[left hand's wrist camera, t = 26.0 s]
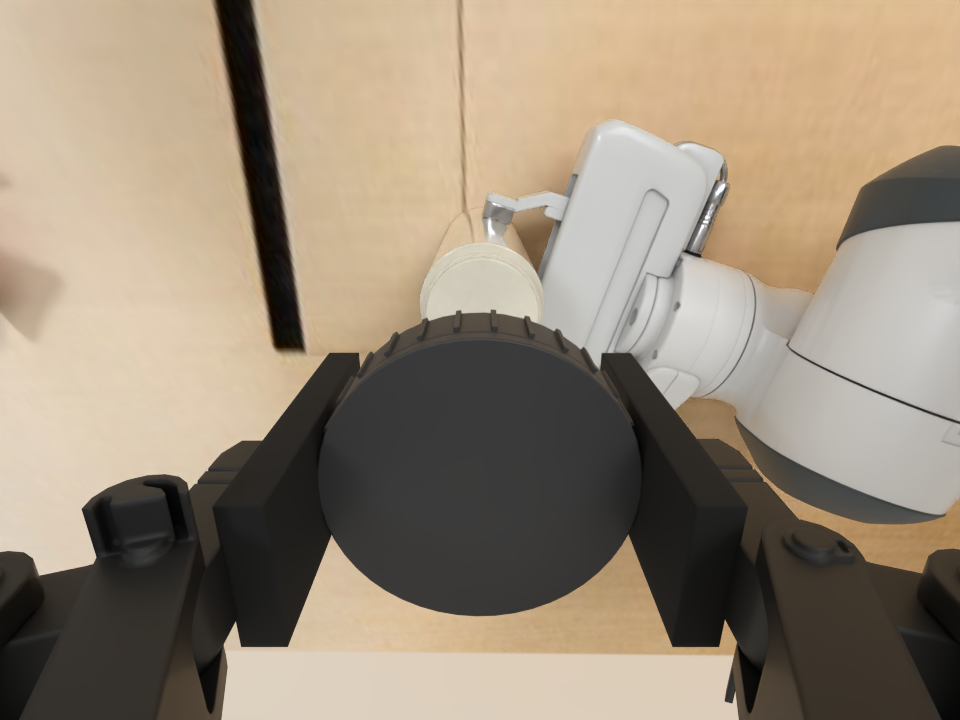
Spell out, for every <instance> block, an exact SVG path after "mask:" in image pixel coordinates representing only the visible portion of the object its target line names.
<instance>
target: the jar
mask: <svg viewBox="0 0 960 720" xmlns="http://www.w3.org/2000/svg"><path fill="white" fill-rule="evenodd" d="M482 212H483V208H474V209H470V210H467V211H465V212H463V213H462V214H460V215H459V216H458V217H457V218H456V219H455V220H454V221H453V222H452V223H451V225H450V226H449V228H448V230H447V233H446V235H445V237H444V239H443V241H442V243H441V246H440V248H439V250H438V252H437V254H436V256H435V258H434V261H433V263H432V265H431V267H430V269H429V271H428V274H427V276H426V278H425V280H424V283H423V286H422V289H421V294H420V313H421V318H422V320H423V319H425V318H428V320H429V321H430V320H434V319H437V318H440V317H444V316H450V315H456V311H458V310H461V312H462V313H482V312H485V313H491V309H492V310H496V314H505V315H510V316H515V317H519V318H524V317H525V315H526V316H529V317H530V319H531V321H532V322H535V323H538V324H541V323H542V319H543V315H544V308H545V298H544V291H543V288H542V284H541V281H540V279H539V277H538V275H537V273H536V271H535V269H534V266H533V264H532V262H531V260H530V258H529V256H528V254H527V252H526V250H525V248H524V246H523V244H522V241H521V239H520V237H519V235H518V233H517V231H516V229H515V227H514V225H513V224H512V222H510V225H507V224H504V223H501V222H499V221H498V220H497V218H496V219H488V218H486V217H483V216H482Z"/></svg>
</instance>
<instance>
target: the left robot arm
mask: <svg viewBox="0 0 960 720" xmlns="http://www.w3.org/2000/svg"><path fill="white" fill-rule="evenodd" d="M359 370H360V361H359V353H329V354H328V356H327V357H326V358H325V360H324V361H323V362H322V363H321V365H320V366H319V367H318V369H317V370H316V371H315V373H314V374H313V375H312V377H311V378H310V379H309V381H308V382H307V383H306V384H305V386H304V387H303V388H302V390H301V391H300V392H299V394H298V395H297V396H296V398H295V399H294V400H293V401H292V403H291V404H290V405H289V407H288V408H287V409H286V411H285V412H284V413H283V415H282V416H281V417H280V419H279V420H278V421H277V422H276V424H275V425H274V426H273V428H272V429H271V430H270V432H269V433H268V434H267V436H266V437H265V438H264V439H263V441H241V442H239V443H238V444H236V445H235V446H233V447H231V448H230V449H228V450H226V451H225V452H223V453H221V454H220V456H219V457H218V458H217V459H216V460H215V461H214V463H213V464H212V465H211V466H210V467H209V468H208V471H206V472H205V473H204V474H203V475H202V476H201V478H200V479H199V480H198V483H197V484H194V486H193V487H192V488H191V489H190V490H188V485H187V482H185V481H184V480H183V479H181V478H180V477H177V476H171V475H166V474H162V475H147V476H143V477H139V478H134V479H130V480H126V481H124V482H121V483H119V484H117V485H114V486H112V487H109V488H107V489H105V490H104V491H102V492H101V493H99V494H98V495H96V496H94V497H93V498H91V499H90V501H89V502H88V503H87V504H86V505H85V506H84V507H83V508H82V512H83V515H84V518H85V521H86V525H87V528H88V531H89V534H90V537H91V541H92V544H93V547H94V550H95V553H96V557H97V558H96V560H95V562H94V564H92V565H88V566H84V567H79V568H75V569H70V570H65V571H60V572H55V573H51V574H46V575H41V576H39V574H38V571H37V569H36V566H35V563H34V560H33V558H31V557H30V556H28V555H27V554H25V553H24V552H13V551H6V552H0V720H221V717H222V709H223V700H224V692H225V683H226V675H227V660H226V654H225V650H224V645H223V644H224V642H225V640H226V639H227V637H228V635H229V633H230V631H231V629H232V627H233V625H234V623H235V621H236V624H237V629H238V633H239V638H240V643H241V647H288V645H289V642H290V640H291V637H292V635H293V632H294V629H295V627H296V624H297V622H298V619H299V617H300V614H301V612H302V609H303V606H304V604H305V601H306V599H307V596H308V594H309V591H310V589H311V586H312V584H313V581H314V578H315V576H316V573H317V571H318V568H319V566H320V563H321V561H322V558H323V555H324V553H325V550H326V548H327V545H328V543H329V540H330V538H331V535H332V534H331V532H330V530H329V528H328V526H327V524H326V521H325V518H324V515H323V512H322V509H321V502H320V494H319V486H318V477H317V466H318V459H319V452H320V448H321V445H322V441H323V438H324V435H325V432H323V431H324V428H325V426H326V424H327V422H328V421H329V419H330V417H331V415H332V414H333V412H334V410H335V408H336V407H337V405H338V403H336V401H337V399H338V398H339V396H340V394H341V392H342V391H343V389H344V387H345V386H346V384H347V382H348V381H349V379H350V377H351V376H353V377H356V375H357V373H358V371H359ZM604 370H605V372H606V373H607V375H608V376H609V378H610V380H611V381H612V383H613V385H614V387H615V388H616V390H617V392H618V393H619V395H620V397H619V398H620V400H621V401H622V403H623V405H624V407H625V408H626V410H627V412H628V414H629V415H630V417H631V419H632V420H633V423H634V426H632V429H633V431H634V433H635V436H636V438H637V442H638V446H639V450H640V454H641V459H642V472H643V479H642V489H641V497H640V503H639V507H638V511H637V515H636V517H635V520H634V522H633V525H632V527H631V530H630V532H629V533H628V534H629V537H630V539H631V542H632V544H633V547H634V549H635V552H636V555H637V557H638V560H639V562H640V565H641V567H642V570H643V572H644V575H645V578H646V580H647V583H648V585H649V588H650V590H651V593H652V595H653V598H654V600H655V603H656V606H657V608H658V611H659V613H660V616H661V618H662V621H663V623H664V626H665V629H666V631H667V634H668V636H669V639H670V641H671V644H672V646H673V647H719V645H720V640H721V635H722V630H723V626H724V621H725V620H726V622H727V624H728V626H729V627H730V629H731V631H732V633H733V635H734V637H735V639H736V641H737V645H736V650H735V654H734V659H733V663H732V667H731V672H730V676H729V681H728V685H727V690H726V696H725V702H729V703H733V698H734V694H735V691H736V699H737V707H738V715H739V720H960V550H958V549H945V550H937V551H935V552H934V553H932V554H931V555H929V556H928V559H927V562H926V565H925V567H924V570H923V573H917V572H912V571H907V570H902V569H897V568H892V567H888V566H883V565H878V564H874V563H870V562H866V561H865V559H864V557H863V555H862V554H861V553H860V552H859V550H858V549H857V548H856V546H855V545H854V544H853V543H851V542H850V541H848V540H847V539H846V538H844V537H843V536H842V535H840V534H839V533H837V532H834V531H832V530H830V529H828V528H826V527H824V526H822V525H819V524H815V523H811V522H808V521H804V520H799V519H798V518H797V517H796V516H795V515H794V514H793V512H792V511H791V510H790V509H789V508H788V507H787V506H786V504H785V503H784V502H783V501H782V500H781V499H780V498H779V496H778V495H777V494H776V493H775V492H774V491H773V490H772V488H771V487H770V486H769V485H768V484H767V483H766V482H763V478H762V477H761V476H760V475H759V474H758V472H757V471H756V470H755V469H752V466H751V464H750V463H749V462H748V461H747V460H746V459H745V458H744V456H743V455H742V454H741V453H740V452H739V451H737V450H736V449H734V448H732V447H731V446H729V445H727V444H726V443H724V442H722V441H721V440H719V439H696V438H695V436H694V435H693V434H692V432H691V431H690V430H689V428H688V427H687V426H686V425H685V423H684V422H683V421H682V419H681V418H680V417H679V415H678V414H677V413H676V411H675V410H674V409H673V408H672V406H671V405H670V404H669V402H668V401H667V400H666V398H665V397H664V396H663V394H662V393H661V392H660V391H659V389H658V388H657V387H656V385H655V384H654V383H653V381H652V380H651V379H650V377H649V376H648V375H647V373H646V372H645V371H644V370H643V368H642V367H641V366H640V364H639V363H638V362H637V360H636V359H635V358H634V356H633V355H632V354H631V353H602V354H601V365H600V371H601V372H602V371H604Z"/></svg>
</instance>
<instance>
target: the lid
mask: <svg viewBox="0 0 960 720" xmlns="http://www.w3.org/2000/svg"><path fill="white" fill-rule="evenodd" d="M619 397H620V395H619V393H618V392H617V390H616V388H615V387H614V385H613V383H612V381H611V380H610V378H609V376H608V375H607V373H606V372H605V370H604V371H602V372H601V371H600V370H599V369H598V367H597V366H596V365H595V364H594V362H593V360H592V358H591V357H590V355H589V353H588V351H587V349H585V348H584V347H583V348H582V349H580V348H578V347H577V346H576V345H575V344H574V343H572V342H571V341H569V340H568V339H566V338H565V337H563V334H562V332H561V330H559V329H557V328H556V330H555V331H553V330H551V329H549V328H547V327H545V326H543V325H541V324H538V323H535V322H532V321H531V319H530V317H529V316H526V315H525V317H524V318H519V317H515V316H510V315H505V314H496V310H492V309H491V313H485V312H482V313H462V312H461V310H458V311H456V315H450V316H444V317H440V318H437V319H434V320H430V321H429V320H428V318H425V319H423V320H422V323H421V324H419V325H417V326H415V327H413V328H410V329H408V330H406V331H404V332H403V333H401V334H400V335H399V334H398V333H397V332H396V333H394V334H393V335H392V337H391V339H390V341H389V342H387V343H386V344H385V345H384V346H383V347H381V348H380V349H379V350H378V351H377V352H375V353H374V354H373V353H372V352H370V353H369V354H368V355H367V357H366V359H365V361H364V363H363V364H362V366H361V368H360V370H359V371H358V373H357V375H356V377H353V376H351V377H350V379H349V381H348V382H347V384H346V386H345V387H344V389H343V391H342V392H341V394H340V396H339V398H338V399H337V401H336V403H338V405H337V407H336V408H335V410H334V412H333V414H332V415H331V417H330V419H329V421H328V422H327V424H326V426H325V428H324V431H323V432H325V435H324V438H323V441H322V445H321V448H320V452H319V459H318V466H317V477H318V486H319V494H320V502H321V509H322V512H323V515H324V518H325V521H326V524H327V526H328V528H329V530H330V532H331V534H332V536H333V538H334V540H335V541H336V543H337V544H338V546H339V547H340V549H341V550H342V552H343V553H344V554H345V556H346V557H347V558H348V559H349V560H350V561H351V562H352V563H353V565H354V566H355V567H356V568H357V569H358V570H359V571H361V572H362V573H363V574H364V575H365V576H366V577H367V578H369V579H370V580H371V581H372V582H374V583H375V584H377V585H378V586H380V587H381V588H383V589H384V590H386V591H387V592H389V593H391V594H393V595H395V596H397V597H399V598H401V599H402V600H405V601H407V602H410V603H412V604H415V605H418V606H420V607H424V608H427V609H431V610H434V611H438V612H443V613H449V614H455V615H466V616H496V615H504V614H511V613H517V612H521V611H525V610H529V609H533V608H536V607H539V606H542V605H545V604H548V603H550V602H553V601H555V600H557V599H559V598H561V597H563V596H565V595H567V594H569V593H571V592H572V591H574V590H575V589H577V588H579V587H580V586H582V585H583V584H585V583H586V582H587V581H588V580H590V579H591V578H592V577H593V576H595V575H596V574H597V573H598V572H599V571H600V570H601V569H602V568H603V567H604V566H605V565H606V564H607V563H608V562H609V561H610V560H611V559H612V558H613V556H614V555H615V554H616V552H617V551H618V550H619V548H620V547H621V546H622V544H623V542H624V540H625V539H626V537H627V535H628V533H629V532H630V530H631V527H632V525H633V522H634V520H635V517H636V515H637V511H638V507H639V503H640V497H641V489H642V479H643V472H642V459H641V454H640V450H639V446H638V442H637V438H636V436H635V433H634V431H633V429H632V426H634V423H633V420H632V419H631V417H630V415H629V414H628V412H627V410H626V408H625V407H624V405H623V403H622V401H621V400H620V398H619Z"/></svg>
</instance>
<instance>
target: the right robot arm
mask: <svg viewBox="0 0 960 720" xmlns="http://www.w3.org/2000/svg"><path fill="white" fill-rule="evenodd" d="M719 172H720V180H716V179H717V177H718V174H719ZM727 176H728V168H727V164H726V161H725V159H724V157H723V156H722V155H721V154H720V153H719V152H718V151H716V150H715V149H713V148H710V147H707V146H704V145H701V144H698V143H696V142H692V141H682V142H678V143H676V144H673V145H672V144H671V143H669V142H667V141H665V140H663V139H661V138H659V137H657V136H656V135H654V134H652V133H650V132H647V131H645V130H643V129H641V128H639V127H636V126H634V125H631V124H629V123H626V122H624V121H621V120H617V119H608V120H605V121H602V122H600V123H598V124H596V125H594V126H593V127H591V128H589V129H588V130H587V132H586V134H585V137H584V139H583V142H582V145H581V148H580V151H579V154H578V157H577V160H576V162H575V165H574V168H573V171H572V174H571V177H570V180H569V182H568V185H567V188H566V191H565V194H564V196H563V195H560V194H557V193H554V192H551V191H548V190H545V191H541V192H537V193H533V194H529V195H524V196H520V197H516V199H513V198H510V197H507V196H504V195H501V194H498V193H495V192H491V191H488V194H487V198H486V201H485V205H484V208H483V212H482V216H483V217H486V218H488V219H496V218H497V220H498V221H499V222H501V223H504V224H507V225H510V222H511V219H512V216H513V214H514V212H519V211H523V210H528V209H532V208H537V207H541V206H542V208H541V212H542V213H543V214H544V215H545V216H547V217H550V218H553V219H556V220H555V223H554V225H553V228H552V231H551V234H550V237H549V240H548V243H547V246H546V248H545V251H544V254H543V257H542V260H541V263H540V266H539V268H538V271H537V275H538V277H539V279H540V281H541V284H542V288H543V291H544V298H545V308H544V315H543V319H542V323H541V325H543V326H545V327H547V328H549V329H551V330H553V331H555V330H556V328H557V329H559V330H561V332H562V334H563V337H565V338H566V339H568V340H569V341H571V342H572V343H574V344H575V345H576V346H577V347H578V348H580V349H582V348H583V347H584V348H585V349H587V351H588V353H589V355H590V357H591V358H592V360H593V362H594V364H595V365H596V366H597V367H598V369H599V370H600V365H601V354H602V353H631V354H632V355H633V356H634V358H635V359H636V360H637V362H638V363H639V364H640V366H641V367H642V368H643V370H644V371H645V372H646V373H647V375H648V376H649V377H650V379H651V380H652V381H653V383H654V384H655V385H656V387H657V388H658V389H659V391H660V392H661V393H662V394H663V396H664V397H665V398H666V400H667V401H668V402H669V404H670V405H671V406H672V408H673V409H674V410H676V409H677V408H678V407H679V406H680V405H681V404H682V403H684V402H685V401H686V400H687V399H688V398H689V397H693V398H708V399H717V400H721V401H724V402H726V403H728V404H730V405H732V406H733V407H734V408H735V409H736V412H737V414H736V416H735V421H736V424H737V427H738V429H739V431H740V434H741V436H742V438H743V440H744V442H745V444H746V446H747V448H748V449H749V451H750V453H751V455H752V458H753V460H754V462H755V463H756V465H757V467H758V468H759V470H760V471H761V472H762V473H763V474H764V475H765V477H767V478H768V479H769V480H770V481H771V482H772V483H773V484H774V485H776V486H777V487H778V488H779V489H781V490H782V491H784V492H785V493H787V494H789V495H790V496H792V497H794V498H796V499H798V500H800V501H802V502H805V503H807V504H809V505H812V506H814V507H817V508H819V509H822V510H824V511H827V512H830V513H833V514H836V515H839V516H842V517H845V518H848V519H852V520H855V521H859V522H863V523H870V524H912V523H920V522H926V521H931V520H935V519H938V518H941V517H944V516H945V515H946V512H947V511H948V510H949V509H950V508H951V507H952V506H953V505H954V504H955V502H956V501H957V500H958V499H959V498H960V146H940V147H937V148H935V149H932V150H930V151H927V152H925V153H923V154H920V155H918V156H916V157H914V158H912V159H910V160H908V161H906V162H904V163H902V164H900V165H898V166H896V167H894V168H893V169H891V170H889V171H887V172H885V173H884V174H882V175H880V176H879V177H877V178H875V179H874V180H872V181H871V182H869V183H867V184H866V185H864V186H863V187H862V188H861V189H860V191H859V194H858V196H857V198H856V201H855V203H854V206H853V208H852V210H851V213H850V215H849V217H848V220H847V222H846V225H845V227H844V229H843V232H842V234H841V237H840V239H839V241H838V244H837V248H836V250H837V253H836V254H835V256H834V258H833V260H832V262H831V264H830V266H829V268H828V270H827V272H826V274H825V276H824V277H823V279H822V281H821V283H820V285H819V287H818V289H817V291H816V293H815V294H813V293H810V292H807V291H804V290H800V289H795V288H776V287H771V286H768V285H766V284H764V283H762V282H761V281H760V280H758V279H757V278H756V277H754V276H753V275H751V274H749V273H747V272H745V271H742V270H739V269H736V268H733V267H730V266H727V265H724V264H721V263H718V262H715V261H712V260H709V259H706V258H703V257H702V256H701V253H702V251H703V249H704V247H705V245H706V242H707V240H708V238H709V236H710V233H711V231H712V226H713V225H714V221H715V217H716V216H717V213H718V212H719V209H720V207H721V206H723V204H724V202H725V200H726V198H727V195H728V193H729V189H730V184H729V183H726V181H727ZM682 249H683V250H684V251H682Z"/></svg>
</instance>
